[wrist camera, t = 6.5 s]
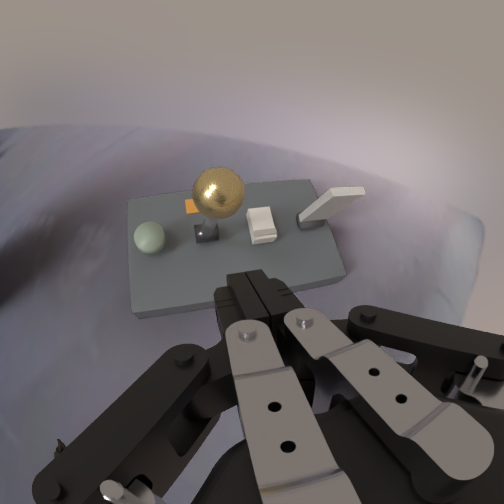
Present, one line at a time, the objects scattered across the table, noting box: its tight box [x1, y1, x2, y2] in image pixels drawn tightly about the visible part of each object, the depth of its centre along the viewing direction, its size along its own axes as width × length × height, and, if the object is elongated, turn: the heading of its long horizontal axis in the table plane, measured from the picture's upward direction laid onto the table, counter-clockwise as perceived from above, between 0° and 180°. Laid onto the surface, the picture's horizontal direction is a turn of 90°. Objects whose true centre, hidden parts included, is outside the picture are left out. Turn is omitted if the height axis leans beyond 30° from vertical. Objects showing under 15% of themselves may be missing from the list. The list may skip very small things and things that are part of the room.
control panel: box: [127, 179, 347, 319], centre depth 32 cm, size 14×24×3 cm, turn 104°
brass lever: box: [192, 167, 245, 244], centre depth 22 cm, size 3×3×16 cm
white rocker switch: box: [246, 206, 277, 245], centre depth 30 cm, size 4×2×2 cm, turn 14°
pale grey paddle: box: [296, 186, 366, 229], centre depth 28 cm, size 2×4×10 cm, turn 104°
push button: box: [134, 221, 166, 255], centre depth 27 cm, size 3×3×3 cm
